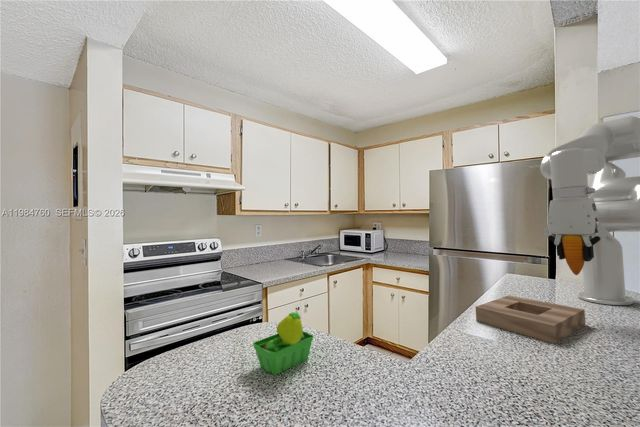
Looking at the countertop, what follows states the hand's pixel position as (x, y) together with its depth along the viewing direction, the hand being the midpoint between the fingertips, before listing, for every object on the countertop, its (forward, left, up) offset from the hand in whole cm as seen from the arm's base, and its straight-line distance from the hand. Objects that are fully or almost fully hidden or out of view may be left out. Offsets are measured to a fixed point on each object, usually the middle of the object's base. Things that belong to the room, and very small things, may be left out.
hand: (575, 259), depth 79 cm
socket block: (+15, -6, -16) cm, 23 cm away
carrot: (0, 0, -5) cm, 5 cm away
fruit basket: (+77, -25, -16) cm, 82 cm away
